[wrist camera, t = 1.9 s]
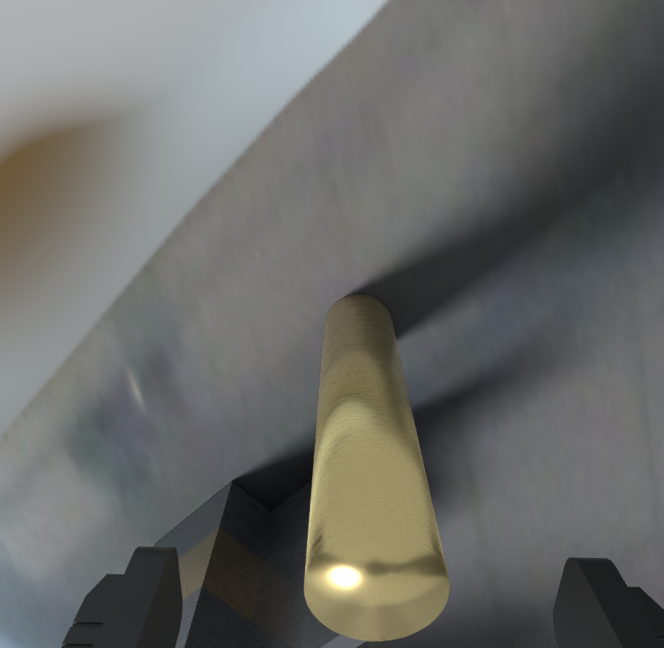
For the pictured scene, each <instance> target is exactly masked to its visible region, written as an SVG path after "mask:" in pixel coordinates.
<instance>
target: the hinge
mask: <svg viewBox="0 0 664 648" xmlns="http://www.w3.org/2000/svg"><path fill="white" fill-rule="evenodd" d="M311 490H312V480H311V481H310V482H309V483H307V484H306V485H305V486H304V487H302V488H301V489H300V490H298V491H297V492H296V493H295V494H293V495H292V496H291V497H289V498H288V499H287V500H285V501H284V502H283V503H282V504H280V505H279V506H278V507H276V508H275V509H274V510H273V511H271V512H270V511H269V510H268V509H267V508H265V507H264V506H263V505H262V504H260V503H259V502H258V501H257V500H255V499H254V498H253V497H252V496H250V495H249V494H248V493H247V492H245V491H244V490H243V489H242V488H241V487H239V486H238V485H237V484H236V483H234V482H233V481H231V482H230V483H229V484H228V485H226V486H225V487H224V488H223V489H222V490H220V491H219V492H218V493H217V494H216V495H214V496H213V497H212V498H211V499H209V500H208V501H207V502H206V503H205V504H203V505H202V506H201V507H200V508H198V509H197V510H196V511H195V512H194V513H192V514H191V515H190V516H189V517H188V518H186V519H185V520H184V521H183V522H181V523H180V524H179V525H178V526H177V527H175V528H174V529H173V530H172V531H171V532H169V533H168V534H167V535H166V536H164V537H163V538H162V539H161V540H160V541H158V542H157V543H156V544H155V545H154V547H175V548H176V550H177V554H178V562H179V571H180V581H181V590H182V599H183V611H182V620H181V626H180V631H179V635H178V639H177V642H176V646H175V648H357V647H358V646H360V645H361V644H363V643H365V642H366V641H363V640H357V639H353V638H349V637H346V636H343V635H341V634H338V633H336V632H334V631H332V630H330V629H329V628H327V627H326V626H324V625H323V624H322V623H321V622H320V621H319V620H318V619H317V618H316V617H315V616H314V615H313V613H312V612H311V610H310V609H309V607H308V605H307V603H306V599H305V595H304V579H305V566H306V554H307V541H308V528H309V516H310V503H311Z"/></svg>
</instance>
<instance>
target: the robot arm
mask: <svg viewBox="0 0 664 648" xmlns="http://www.w3.org/2000/svg"><path fill="white" fill-rule="evenodd" d="M182 611H183V599H182V590H181V581H180V571H179V562H178V554H177V550H176V548H175V547H138V548H137V549H136V550H135V551H134V553H133V556H132V558H131V560H130V562H129V565H128V567H127V569H126V572H125V574H124V575H121V574H107V575H106V576H105V577H104V578H103V579H102V580H101V581H100V582H99V583H98V584H97V585H96V586H95V587H94V588H93V589H92V590H91V591H90V592H89V593H88V594H87V595H86V597H85V599H84V601H83V603H82V605H81V607H80V609H79V611H78V613H77V615H76V617H75V619H74V621H73V626H72V627H70V629H69V631H68V633H67V635H66V637H65V639H64V641H63V643H62V648H175V646H176V642H177V639H178V635H179V631H180V626H181V620H182ZM553 625H554V632H555V636H556V640H557V643H558V646H559V648H664V609H662V608H661V607H660V606H659V605H658V604H657V603H656V602H655V601H654V600H653V599H652V598H650V597H649V596H648V595H647V594H646V593H645V592H644V591H643V590H642V589H641V588H640V587H627V585H626V583H625V582H624V580H623V578H622V577H621V575H620V573H619V572H618V570H617V568H616V567H615V565H614V564H613V563H612V561H610V560H609V559H607V558H568V559H567V561H566V563H565V567H564V571H563V574H562V578H561V582H560V586H559V590H558V594H557V598H556V602H555V606H554V610H553Z"/></svg>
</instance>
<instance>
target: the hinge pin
mask: <svg viewBox="0 0 664 648" xmlns="http://www.w3.org/2000/svg"><path fill="white" fill-rule="evenodd" d="M449 592H450V583H449V576H448V572H447V567H446V563H445V558H444V554H443V549H442V545H441V540H440V536H439V531H438V527H437V522H436V518H435V513H434V509H433V504H432V499H431V495H430V490H429V486H428V481H427V477H426V472H425V468H424V463H423V459H422V454H421V450H420V445H419V441H418V436H417V432H416V427H415V422H414V418H413V413H412V409H411V404H410V400H409V395H408V391H407V386H406V382H405V377H404V373H403V368H402V364H401V359H400V355H399V350H398V346H397V341H396V336H395V332H394V327H393V323H392V319H391V315H390V313H389V311H388V309H387V308H386V307H385V306H384V304H382V303H381V302H380V301H379V300H377V299H375V298H373V297H371V296H367V295H360V294H359V295H350V296H347V297H344V298H342V299H340V300H339V301H337V302H336V303H335V304H334V305H333V306H332V307H331V308H330V310H329V311H328V313H327V316H326V319H325V325H324V338H323V351H322V363H321V376H320V389H319V401H318V414H317V427H316V440H315V452H314V465H313V478H312V490H311V503H310V516H309V528H308V541H307V554H306V566H305V579H304V595H305V599H306V603H307V605H308V607H309V609H310V610H311V612H312V613H313V615H314V616H315V617H316V618H317V619H318V620H319V621H320V622H321V623H322V624H323V625H324V626H326V627H327V628H329V629H330V630H332V631H334V632H336V633H338V634H341V635H343V636H346V637H349V638H353V639H357V640H363V641H388V640H395V639H400V638H403V637H406V636H409V635H412V634H414V633H416V632H418V631H420V630H422V629H424V628H425V627H426V626H428V625H429V624H431V623H432V622H433V621H434V620H435V619H436V618H437V617H438V616H439V615H440V613H441V612H442V610H443V609H444V607H445V605H446V603H447V600H448V597H449Z"/></svg>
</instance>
